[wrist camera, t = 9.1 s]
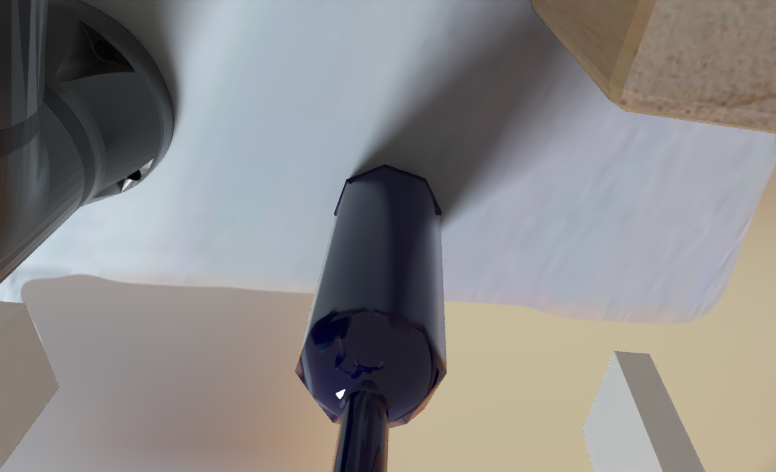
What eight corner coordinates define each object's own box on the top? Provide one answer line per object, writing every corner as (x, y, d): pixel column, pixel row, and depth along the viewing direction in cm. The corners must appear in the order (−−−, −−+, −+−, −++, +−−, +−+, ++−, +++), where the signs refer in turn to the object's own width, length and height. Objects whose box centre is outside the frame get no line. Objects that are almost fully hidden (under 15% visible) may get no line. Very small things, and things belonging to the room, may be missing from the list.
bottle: (328, 165, 44) (199, 545, 19) (442, 163, 43) (467, 554, 18) (339, 257, 49) (249, 654, 24) (441, 257, 48) (459, 665, 23)
